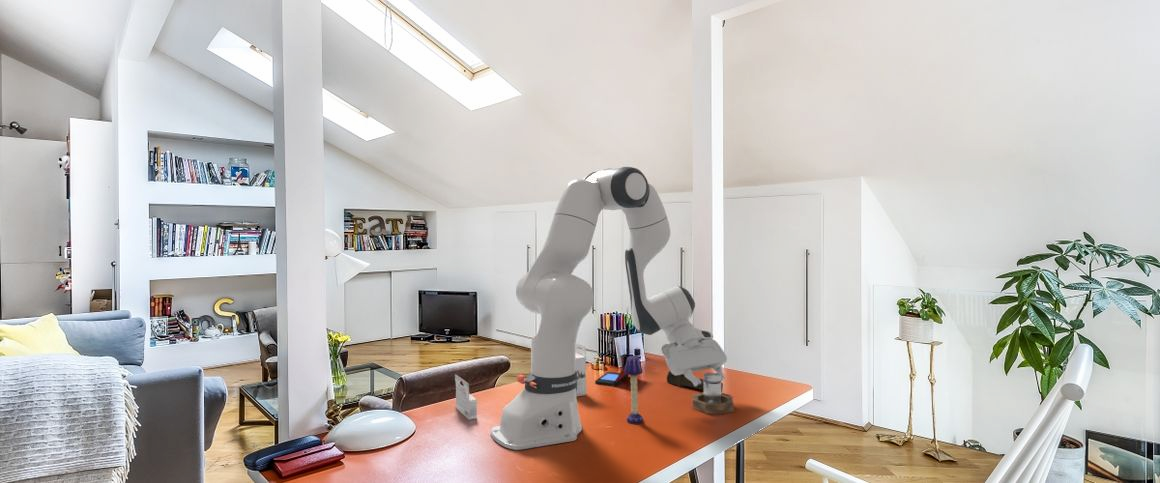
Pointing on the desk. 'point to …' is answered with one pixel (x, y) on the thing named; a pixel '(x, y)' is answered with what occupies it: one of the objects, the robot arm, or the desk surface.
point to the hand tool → (684, 381)
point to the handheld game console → (612, 378)
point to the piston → (712, 388)
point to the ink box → (580, 369)
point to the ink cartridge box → (465, 399)
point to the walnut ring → (712, 404)
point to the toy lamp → (634, 388)
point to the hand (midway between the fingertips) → (710, 382)
